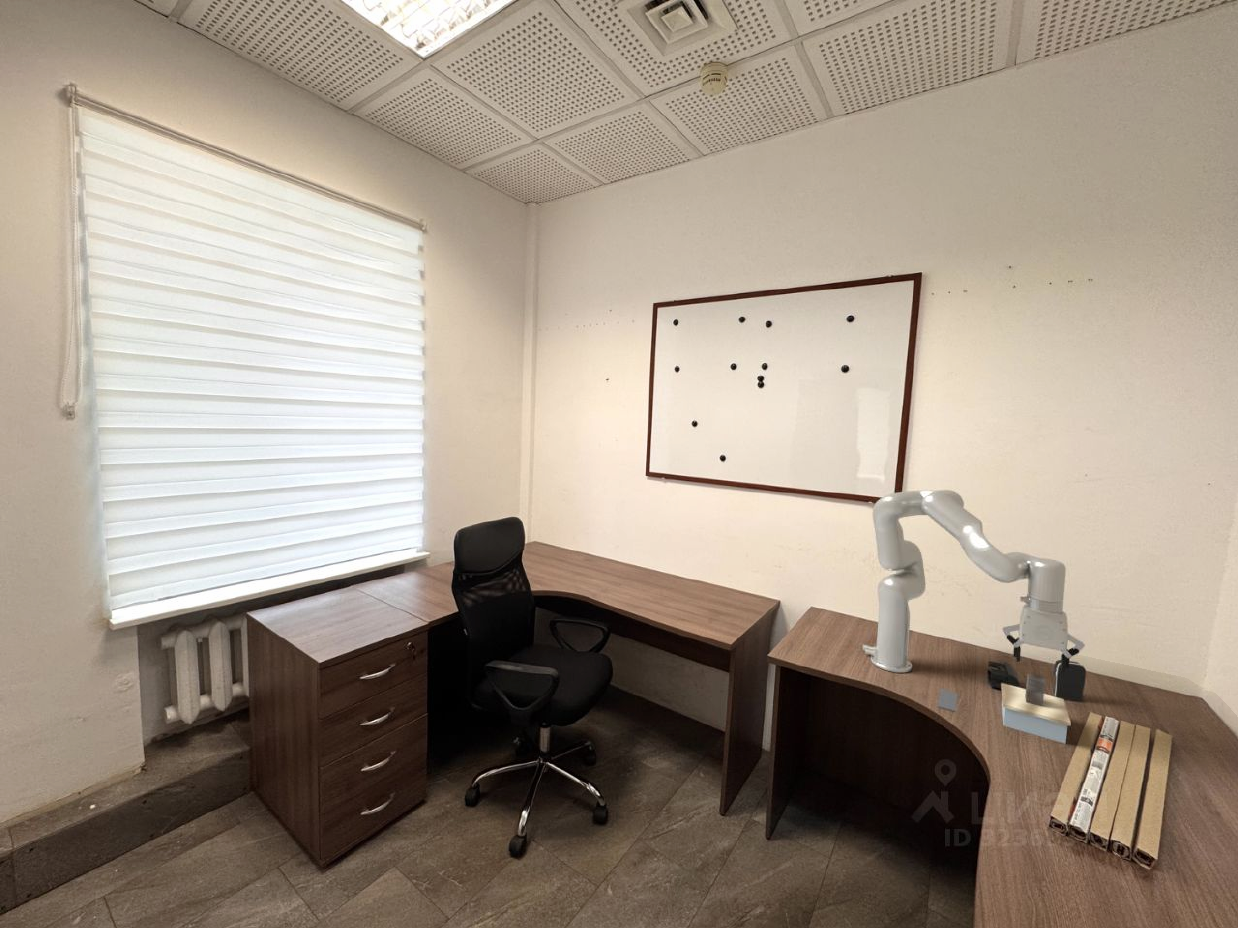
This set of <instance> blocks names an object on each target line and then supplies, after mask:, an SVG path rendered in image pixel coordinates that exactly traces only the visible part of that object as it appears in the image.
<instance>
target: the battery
mask: <svg viewBox="0 0 1238 928" xmlns="http://www.w3.org/2000/svg"><path fill="white" fill-rule="evenodd" d="M1086 670H1087V669H1086V668H1085V666H1084V665H1082V664H1081V663H1079V662H1076V661H1073V660H1072V661H1070V660H1069V669H1068V668H1066V672H1063V671H1062V670H1061V659H1058V660H1057V661H1055V663H1054V668H1053V675H1054V677H1055V679H1054V681H1055V682H1054V684H1055V685H1054V688H1053V696H1054V697H1058V698H1062V699H1064V700H1067V701H1068V700H1070V701H1074V702H1075V701H1076V702H1083V698H1084V690H1085V685H1086V684H1085V683H1086V677H1087V671H1086Z"/></svg>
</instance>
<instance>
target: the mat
mask: <svg viewBox="0 0 1238 928" xmlns="http://www.w3.org/2000/svg"><path fill="white" fill-rule="evenodd" d="M937 701H938V702H937V708H940V709H943V710H946V711H950V712H953V713H956V712H957V703H958V692H954V691H952V690H947V689H944V688H941V687H940V689H939V695H938V700H937Z"/></svg>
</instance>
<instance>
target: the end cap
mask: <svg viewBox="0 0 1238 928" xmlns="http://www.w3.org/2000/svg"><path fill="white" fill-rule="evenodd" d="M987 666H988V667H990V669H987V671H986V672H987V673H986V674H987V677H986V679H987V680H986V681H987V684H988V685H989V686H990V687H992V688H997V689H1001V690H1002V688H1001V684H1002V683H1003V684H1007V685H1011V686H1015V687H1019V688H1021V686H1020V685H1021V684H1020V681H1019V678H1018V676H1017V673H1016V670H1015V668H1014V667H1013V666H1012V665H1011V663H1009V662H1006V661H1003V663H999V662H996V661H995V662H994V661H988V663H987Z"/></svg>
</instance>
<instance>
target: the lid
mask: <svg viewBox="0 0 1238 928" xmlns="http://www.w3.org/2000/svg"><path fill="white" fill-rule="evenodd" d="M1026 677H1027V678H1026V687H1025V688H1022V687H1020V688H1019V687H1015V686H1011V685H1007V684H1003V683H1002V684H1001V688H1002V689H1001V702H1002V701H1003V707H1004V708H1008V709H1011V710H1015V711H1019V712H1022V713H1026V714H1029V715H1033V716H1036V717H1040V718H1044V719H1047V720H1051V721H1054V722H1058V723H1062V724H1065V725H1067V726H1068V727H1069V726H1071V725H1072V724H1071V719H1070V716H1069V712H1068V709H1067V705H1066V702H1065V699H1062V698H1058V697H1056V696H1055V695H1050V694H1046V693H1045V687H1046V686H1045V685H1046V682H1045V677H1044V676H1040V675H1037V674H1032V673H1027V676H1026Z"/></svg>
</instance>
